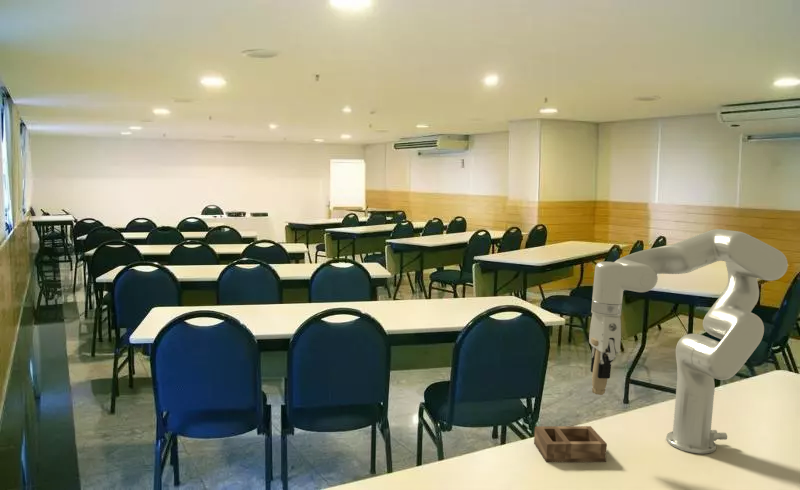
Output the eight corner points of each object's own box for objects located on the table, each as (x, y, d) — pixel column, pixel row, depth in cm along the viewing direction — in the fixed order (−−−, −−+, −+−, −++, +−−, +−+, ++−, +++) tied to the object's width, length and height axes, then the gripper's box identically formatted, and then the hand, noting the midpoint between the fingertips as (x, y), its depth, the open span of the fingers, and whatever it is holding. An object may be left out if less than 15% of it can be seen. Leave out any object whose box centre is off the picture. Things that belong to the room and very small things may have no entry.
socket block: (589, 443, 167) (590, 426, 166) (605, 461, 156) (606, 443, 155) (534, 443, 166) (534, 426, 165) (546, 462, 155) (547, 444, 154)
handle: (614, 395, 158) (619, 341, 157) (594, 397, 156) (599, 342, 154) (602, 389, 163) (607, 336, 161) (582, 391, 161) (587, 337, 159)
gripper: (634, 316, 149) (627, 386, 151) (606, 302, 165) (600, 365, 167) (605, 315, 148) (598, 385, 150) (580, 301, 165) (575, 365, 167)
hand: (600, 374), depth 159 cm, fingers closed on handle, 3 cm apart
